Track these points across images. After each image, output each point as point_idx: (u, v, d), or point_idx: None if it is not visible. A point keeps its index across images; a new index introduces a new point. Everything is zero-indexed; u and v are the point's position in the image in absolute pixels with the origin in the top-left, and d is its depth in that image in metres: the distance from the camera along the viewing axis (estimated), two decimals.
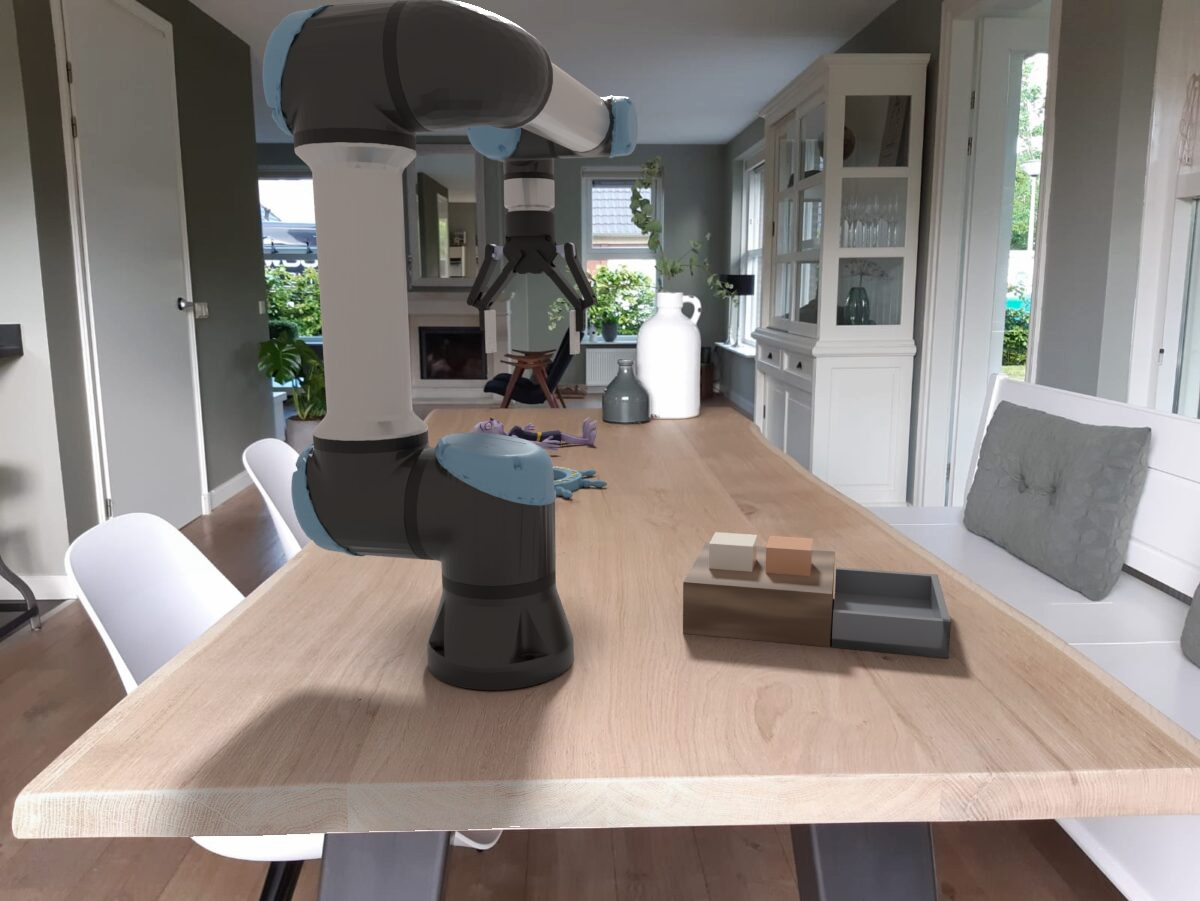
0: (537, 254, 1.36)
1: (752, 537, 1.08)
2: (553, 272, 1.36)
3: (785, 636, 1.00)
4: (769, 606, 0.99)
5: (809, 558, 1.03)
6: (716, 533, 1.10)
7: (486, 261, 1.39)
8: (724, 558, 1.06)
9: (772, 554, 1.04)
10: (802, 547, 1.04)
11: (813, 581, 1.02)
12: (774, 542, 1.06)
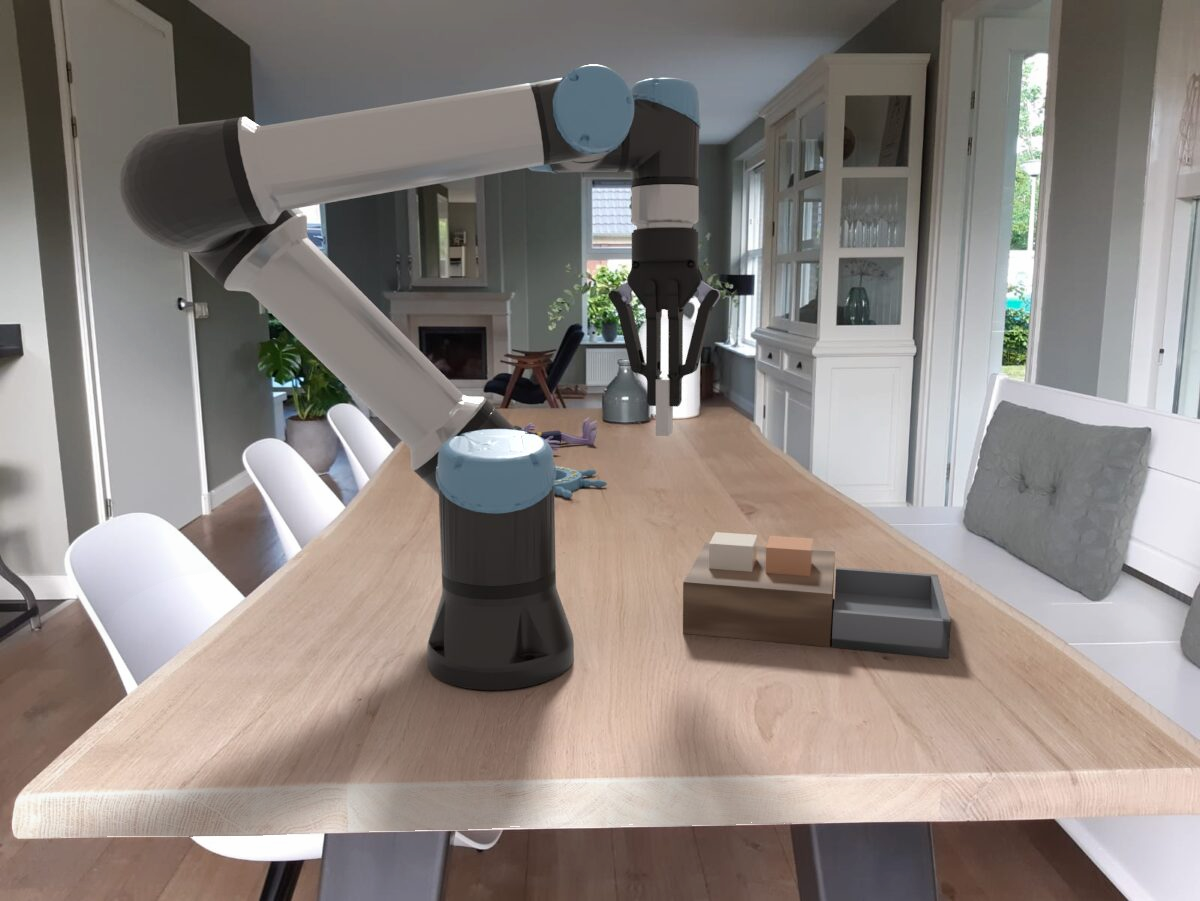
0: (675, 288, 1.02)
1: (752, 537, 1.08)
2: (676, 319, 1.03)
3: (785, 636, 1.00)
4: (769, 606, 0.99)
5: (809, 558, 1.03)
6: (716, 533, 1.10)
7: (621, 311, 1.05)
8: (724, 558, 1.06)
9: (772, 554, 1.04)
10: (802, 547, 1.04)
11: (813, 581, 1.02)
12: (774, 542, 1.06)
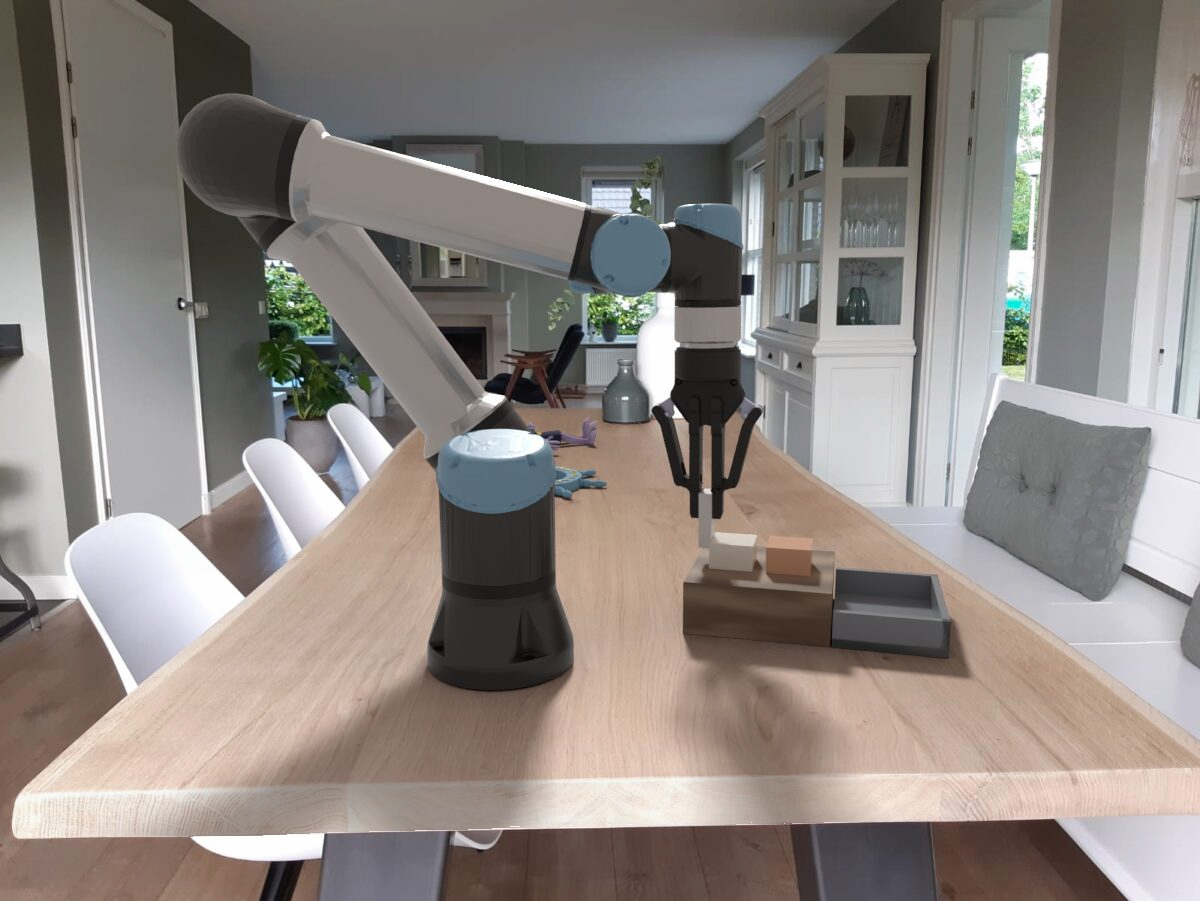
0: (719, 406, 1.03)
1: (752, 537, 1.08)
2: (719, 435, 1.04)
3: (785, 636, 1.00)
4: (769, 606, 0.99)
5: (809, 558, 1.03)
6: (716, 533, 1.10)
7: (664, 426, 1.06)
8: (724, 558, 1.06)
9: (772, 554, 1.04)
10: (802, 547, 1.04)
11: (813, 581, 1.02)
12: (774, 542, 1.06)
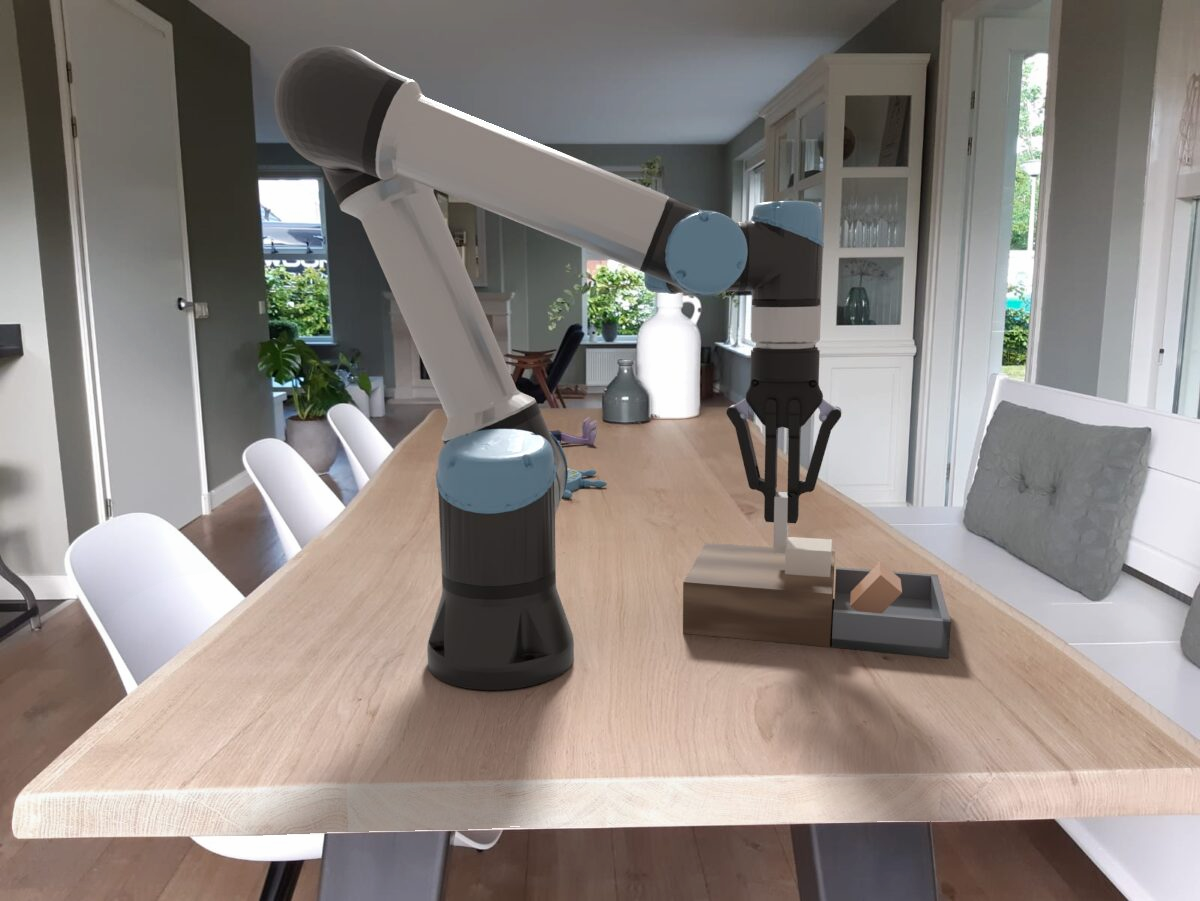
0: (797, 408, 1.01)
1: (827, 541, 1.06)
2: (797, 438, 1.02)
3: (785, 636, 1.00)
4: (769, 606, 0.99)
5: None
6: (789, 538, 1.08)
7: (739, 428, 1.04)
8: (801, 564, 1.03)
9: (891, 592, 1.01)
10: None
11: (813, 581, 1.02)
12: None
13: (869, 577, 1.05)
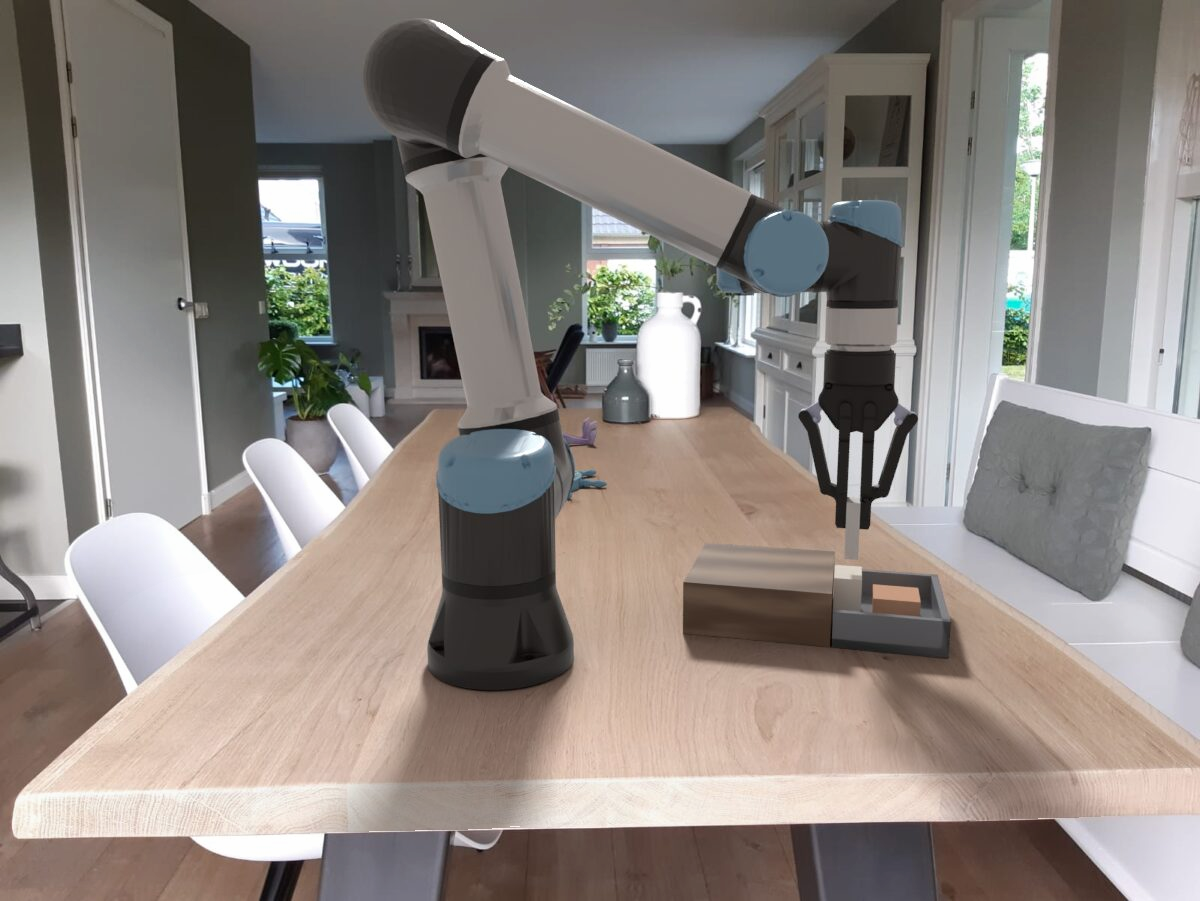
0: (873, 412, 0.99)
1: None
2: (871, 442, 1.00)
3: (785, 636, 1.00)
4: (769, 606, 0.99)
5: None
6: (861, 569, 1.06)
7: (811, 432, 1.02)
8: (845, 594, 1.03)
9: None
10: None
11: (813, 581, 1.02)
12: None
13: (902, 591, 1.04)
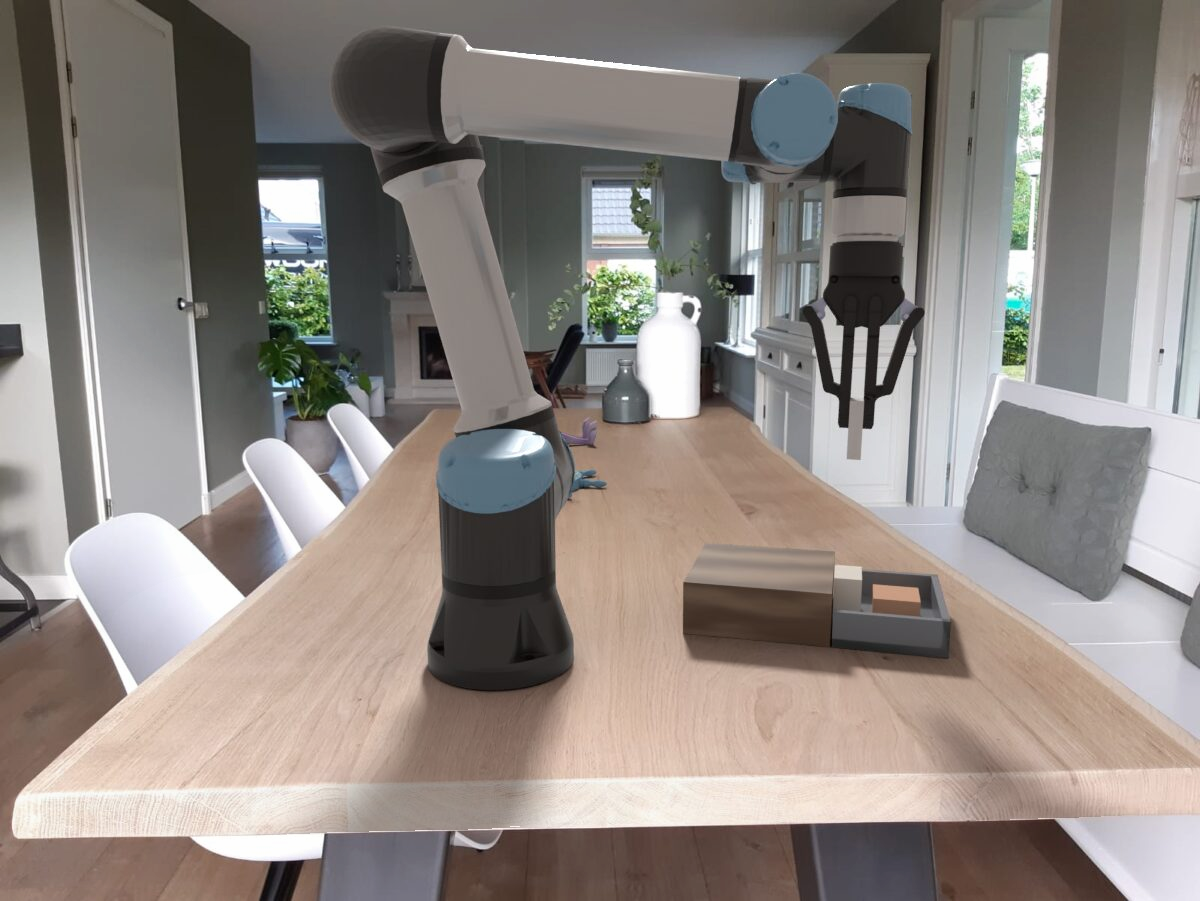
0: (878, 305, 0.97)
1: None
2: (876, 337, 0.98)
3: (785, 636, 1.00)
4: (769, 606, 0.99)
5: None
6: (861, 569, 1.06)
7: (815, 327, 1.00)
8: (845, 594, 1.03)
9: None
10: None
11: (813, 581, 1.02)
12: None
13: (902, 591, 1.04)
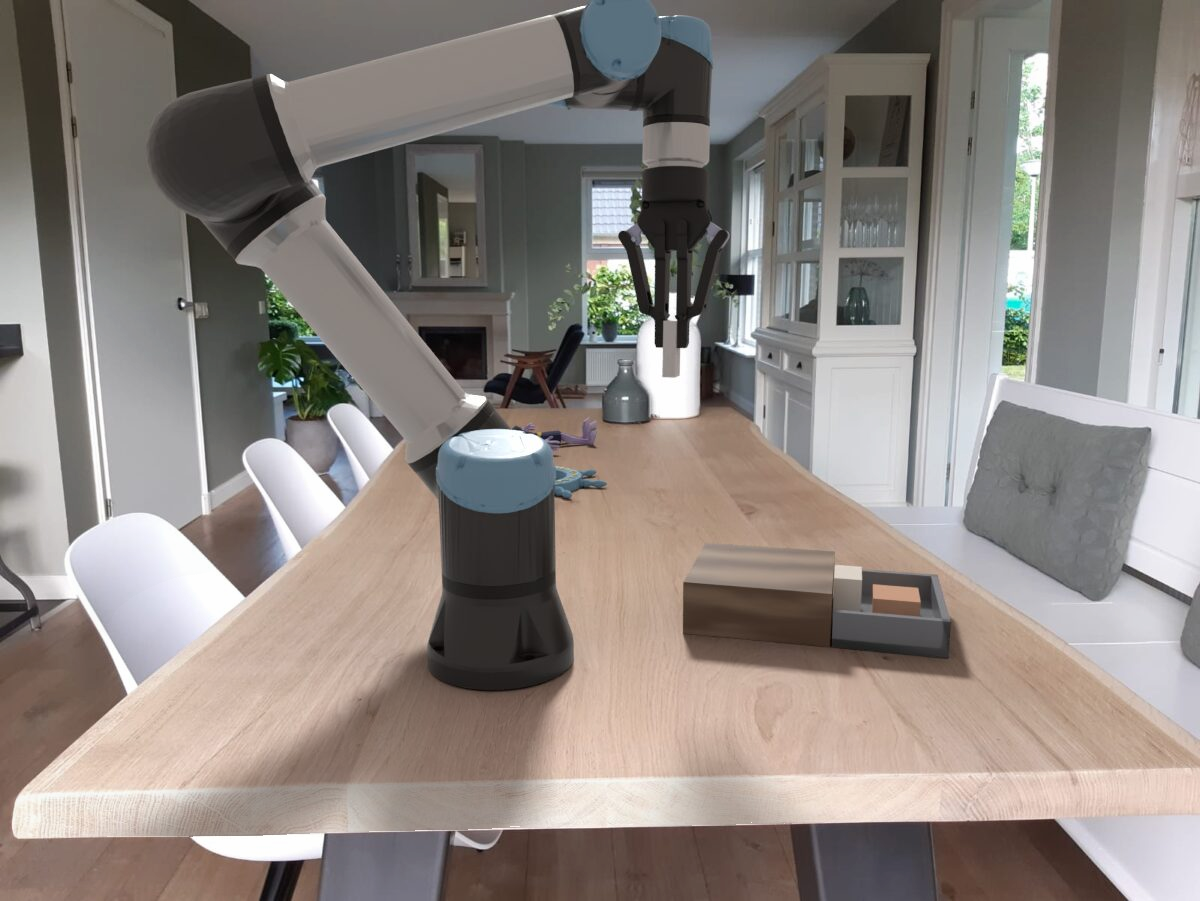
0: (684, 228, 1.02)
1: None
2: (685, 260, 1.04)
3: (785, 636, 1.00)
4: (769, 606, 0.99)
5: None
6: (861, 569, 1.06)
7: (630, 251, 1.05)
8: (845, 594, 1.03)
9: None
10: None
11: (813, 581, 1.02)
12: None
13: (902, 591, 1.04)
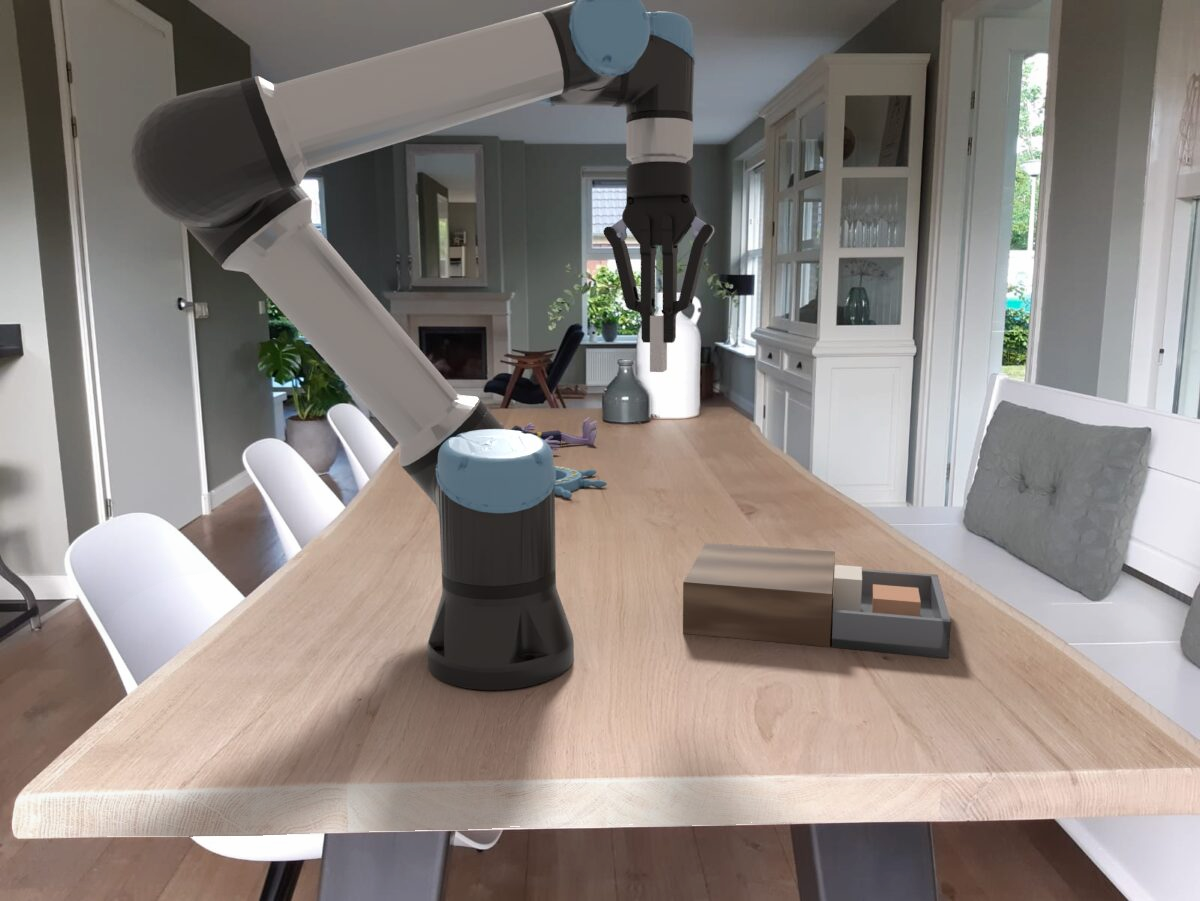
0: (669, 223, 1.03)
1: None
2: (670, 254, 1.04)
3: (785, 636, 1.00)
4: (769, 606, 0.99)
5: None
6: (861, 569, 1.06)
7: (616, 247, 1.06)
8: (845, 594, 1.03)
9: None
10: None
11: (813, 581, 1.02)
12: None
13: (902, 591, 1.04)
